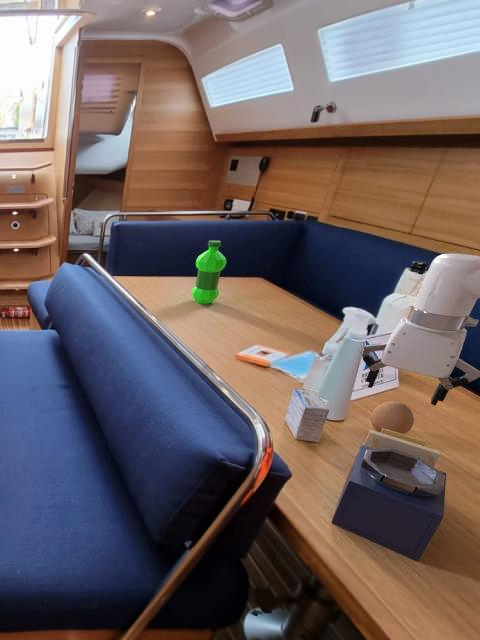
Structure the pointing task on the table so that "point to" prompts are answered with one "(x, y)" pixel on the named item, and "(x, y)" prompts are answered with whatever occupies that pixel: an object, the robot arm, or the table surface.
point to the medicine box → (306, 415)
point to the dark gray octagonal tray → (402, 472)
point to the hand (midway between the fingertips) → (400, 393)
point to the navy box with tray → (387, 513)
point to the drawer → (402, 444)
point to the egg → (392, 417)
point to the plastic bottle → (208, 274)
